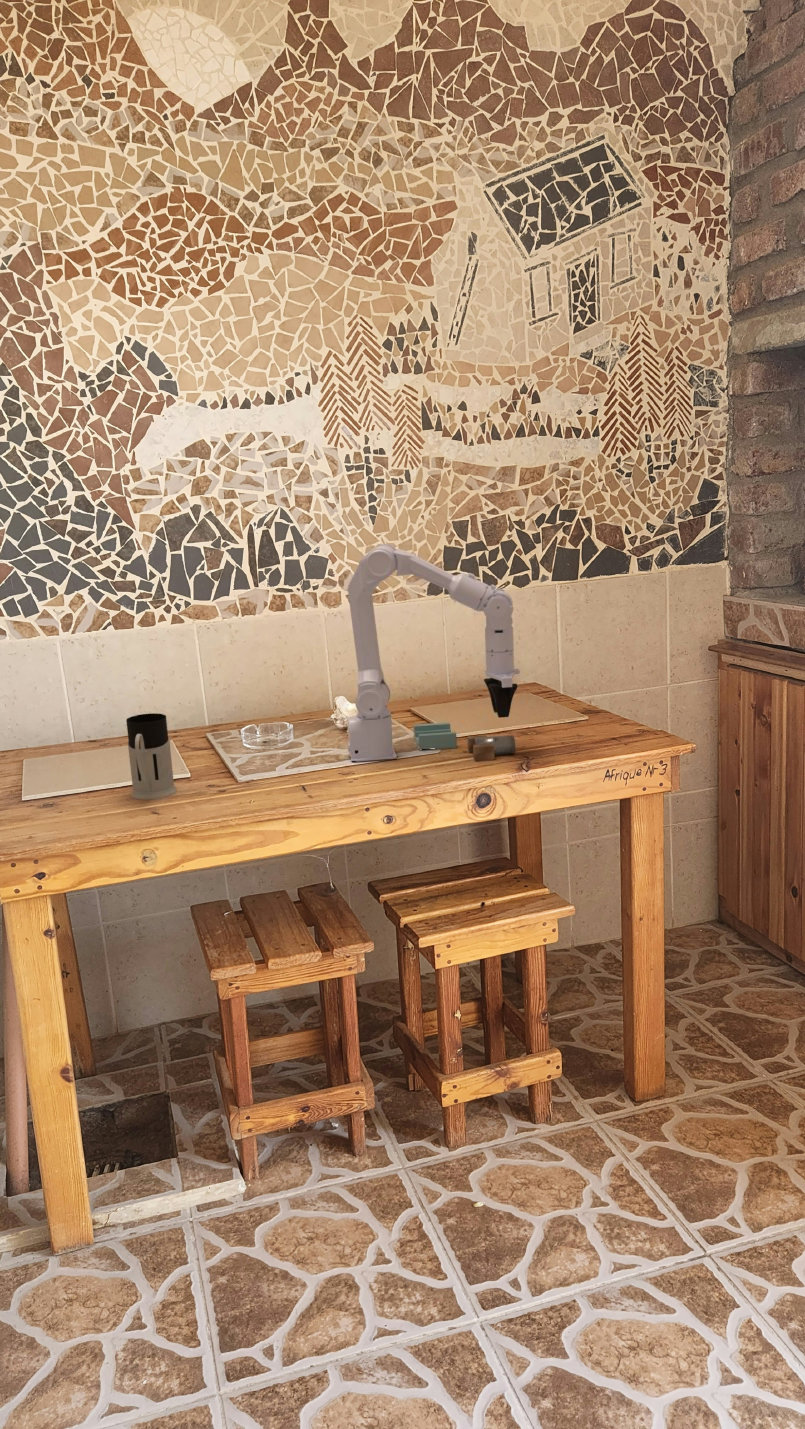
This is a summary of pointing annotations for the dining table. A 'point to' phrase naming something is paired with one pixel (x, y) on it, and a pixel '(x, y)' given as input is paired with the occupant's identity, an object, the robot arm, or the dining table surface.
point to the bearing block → (480, 750)
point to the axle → (498, 743)
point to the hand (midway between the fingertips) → (501, 714)
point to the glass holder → (150, 757)
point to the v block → (435, 736)
